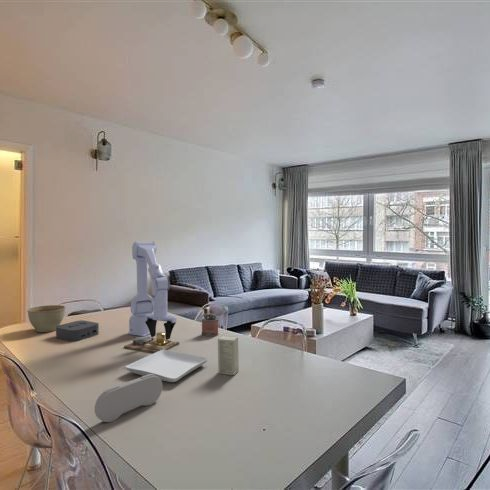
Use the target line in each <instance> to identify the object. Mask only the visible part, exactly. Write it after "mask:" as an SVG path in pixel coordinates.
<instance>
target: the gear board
mask: <svg viewBox="0 0 490 490" xmlns="http://www.w3.org/2000/svg"><path fill="white" fill-rule="evenodd" d="M165 340H166V338H165ZM155 341H157V337H156V338H155V337H151V336H150V335H149V336H148V335H147V336H139V337H135V338H134V339H132V342H130V343H128V344H125V345H124V346H123V348H124V349H129V350H135V351H138V352H139V351H141V352H146V353H150V354H153V353H156V352H158V351H160V350H170V349H172V348H174V347H176V346H178V345H180V342H179V341H177V340H173V339H168V340H166V341H168V344H166V345H164V346H157V345H154V342H155Z"/></svg>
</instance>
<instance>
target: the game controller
mask: <svg viewBox="0 0 490 490" xmlns="http://www.w3.org/2000/svg"><path fill="white" fill-rule="evenodd" d="M162 381H163V380H161V379H160V378H159V377H157V376H155V375H154V374H148V375H145V376H142V375H141V376H140V377H137V378H134V379H132V380H129V381H126V382H124V383H121V384H117V385H114V386H111V387H109V388H107V389H105V390H104V391H103V392H102V393H101V394H100V395H99V396H98V397H97V399H96V401H95V404H94V414H95V416H96V418H97V419H99V420H100V421H101V422H104V423H111V422H114V421H116V420H117V419H119V418H120V417H121V416H122V415H123V414H124V413H127V412H129V411H131V410H134V409H136V408H139V407H140V406H141V407H142V406H145V407H147V406H148V405H149V406H152V405H153V404H155V403H156V402H157V401H158V400H159V398H160V396H161V395H162V392H163V382H162Z"/></svg>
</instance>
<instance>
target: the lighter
mask: <svg viewBox="0 0 490 490" xmlns="http://www.w3.org/2000/svg"><path fill="white" fill-rule="evenodd" d="M202 317H203V318H201V335H202V336H206V337H207V336H209V337H210V336H211V337H215V336H216V337H217V336H219V319H218V318H217V314H213V313H203V314H202Z"/></svg>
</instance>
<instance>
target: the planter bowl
mask: <svg viewBox="0 0 490 490" xmlns="http://www.w3.org/2000/svg"><path fill="white" fill-rule="evenodd" d="M65 311H66V306H65V305H62V304H61V305H58V304H57V305H55V304H53V305H52V304H50V305H40V306H35V307H34V306H33V307H30V308H28V309H27V316H28V320H29V323H30V324H31V326H32V327H33V328H34V329H35V332H37V333H48V332H53V331H56V326H58V325H61V324H62V322H63V320H64V317H65Z"/></svg>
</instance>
